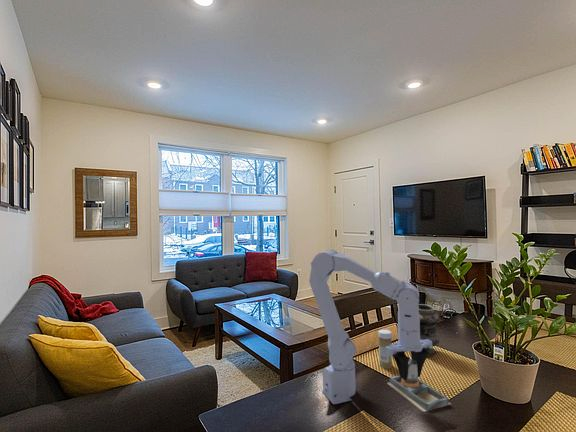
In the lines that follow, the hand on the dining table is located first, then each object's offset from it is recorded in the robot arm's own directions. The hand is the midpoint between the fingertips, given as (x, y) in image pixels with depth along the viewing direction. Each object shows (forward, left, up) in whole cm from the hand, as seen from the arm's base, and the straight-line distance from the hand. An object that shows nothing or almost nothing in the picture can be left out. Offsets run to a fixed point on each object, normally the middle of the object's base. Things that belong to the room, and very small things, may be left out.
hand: (410, 376), depth 89 cm
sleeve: (0, 0, -2) cm, 2 cm away
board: (+6, +4, -9) cm, 12 cm away
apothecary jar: (+31, +29, -9) cm, 43 cm away
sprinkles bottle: (+8, +22, -9) cm, 25 cm away
